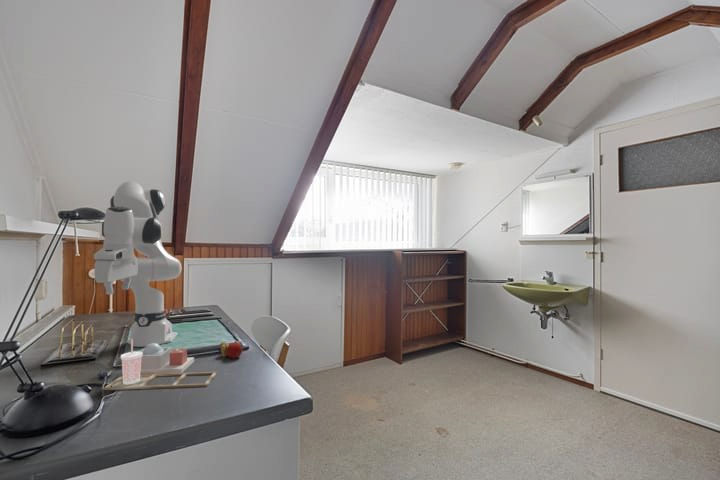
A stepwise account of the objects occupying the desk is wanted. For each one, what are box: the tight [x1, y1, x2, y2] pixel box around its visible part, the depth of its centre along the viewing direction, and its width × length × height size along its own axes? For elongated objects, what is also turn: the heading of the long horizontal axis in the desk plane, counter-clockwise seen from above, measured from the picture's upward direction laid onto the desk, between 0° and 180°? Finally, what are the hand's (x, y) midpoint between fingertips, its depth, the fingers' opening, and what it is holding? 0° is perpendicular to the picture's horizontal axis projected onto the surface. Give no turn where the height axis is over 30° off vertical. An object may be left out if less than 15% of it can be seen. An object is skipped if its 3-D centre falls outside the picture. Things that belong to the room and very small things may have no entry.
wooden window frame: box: [103, 371, 218, 391], centre depth 113 cm, size 11×31×1 cm, turn 97°
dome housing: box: [139, 346, 195, 374], centre depth 125 cm, size 12×18×6 cm, turn 97°
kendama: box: [219, 340, 243, 359], centre depth 141 cm, size 8×6×18 cm
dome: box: [142, 343, 164, 355], centre depth 125 cm, size 7×7×7 cm
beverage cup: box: [120, 339, 143, 385], centre depth 112 cm, size 6×6×14 cm
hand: (118, 291), depth 121 cm, fingers open, 8 cm apart
